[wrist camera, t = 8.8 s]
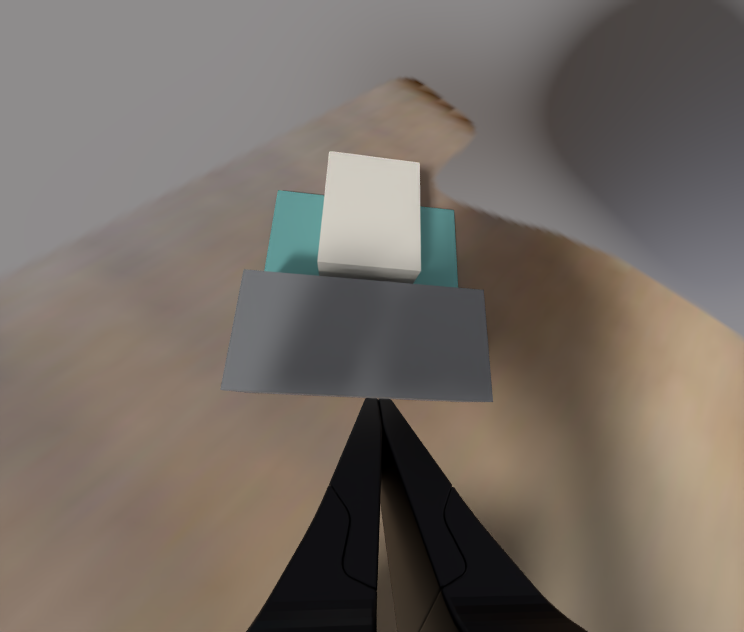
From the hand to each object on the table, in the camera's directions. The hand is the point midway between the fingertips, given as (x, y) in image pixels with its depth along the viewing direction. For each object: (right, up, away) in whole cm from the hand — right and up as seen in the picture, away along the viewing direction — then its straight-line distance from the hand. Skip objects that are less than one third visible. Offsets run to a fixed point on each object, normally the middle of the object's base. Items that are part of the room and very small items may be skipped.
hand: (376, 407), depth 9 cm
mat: (-1, +8, +12) cm, 15 cm away
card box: (0, +5, +9) cm, 10 cm away
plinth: (-1, +1, +10) cm, 10 cm away
